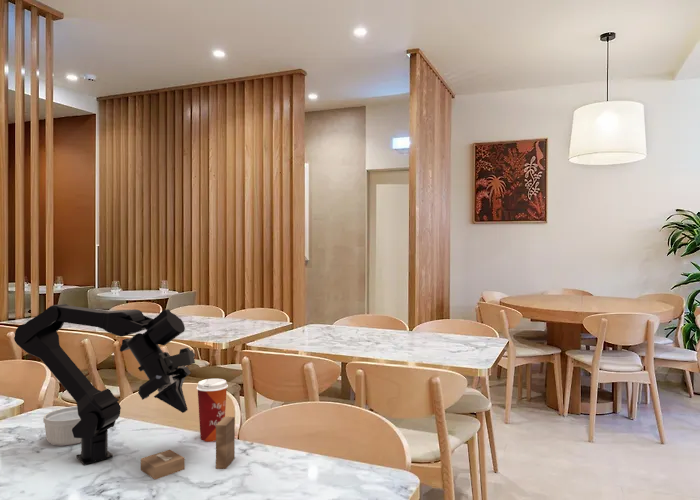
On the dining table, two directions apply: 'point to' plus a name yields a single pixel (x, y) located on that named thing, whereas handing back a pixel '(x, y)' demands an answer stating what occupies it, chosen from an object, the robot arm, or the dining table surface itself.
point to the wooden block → (225, 442)
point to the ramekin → (61, 426)
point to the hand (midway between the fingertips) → (185, 411)
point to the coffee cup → (211, 406)
